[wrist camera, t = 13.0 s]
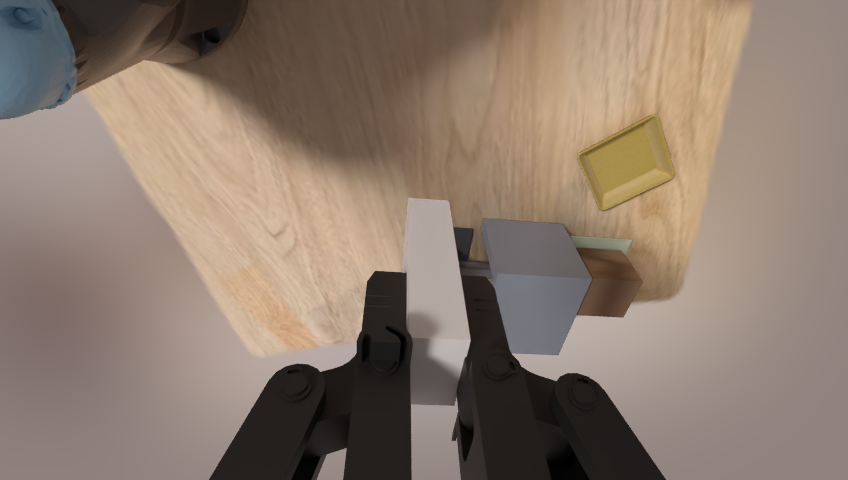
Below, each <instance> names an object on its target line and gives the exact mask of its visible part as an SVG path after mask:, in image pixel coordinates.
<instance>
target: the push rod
mask: <svg viewBox="0 0 848 480" xmlns="http://www.w3.org/2000/svg"><path fill="white" fill-rule="evenodd" d="M576 249H577V251H578V253H579V255H580V257H581V259H582V261H583V263H584V264H585V266H586V268H587V270H588V272H589V274H590V276H591V278H592V281H591V283H590V285H589V287H588V290H587V292H586V294H585V296H584V299H583V301H582V303H581V305H580V308H579V310H578V312H577V315H586V316H587V315H588V316H607V317H624V315H625V313H626V311H627V310H628V308H629V306H630V304H631V302H632V300H633V299H634V297H635V295H636V293H637V291H638V289H639V287H640V286H641V284H642V282H643V281H642V280H641V278H640V277H639V275H638V274H637V272H636V271H635V269H634V268H633V266H632V265H631V263H630V262H629V260H628V259H627V258H626V256H625V255H624V253H623V252H622V250H609V249H594V248H578V247H577V248H576ZM458 262H459V269H460V275H470V276H486V278H487V279H492V278H493V276H492V272H491V268H490V264H489V263H479V262H463V261H458Z"/></svg>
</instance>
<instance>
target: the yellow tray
mask: <svg viewBox="0 0 848 480" xmlns="http://www.w3.org/2000/svg"><path fill="white" fill-rule="evenodd" d="M577 159H578V162H579V164H580V166H581V169H582V171H583V173H584V175H585V178H586V180H587V182H588V184H589V187H590V189H591V191H592V193H593V196H594V198H595V200H596V203H597V205H598V207H599V210H601V211H604V210H607V209H609V208H611V207H613V206H615V205H617V204H620V203H622V202H624V201H626V200H628V199H630V198H632V197H635V196H636V195H638V194H641V193H643V192H645V191H647V190H649V189H651V188H653V187H656V186H658V185H660V184H662V183H664V182H666V181H669V180H671V179H672V178H673V177H674V174H675V171H674V168H673V164H672V161H671V158H670V154H669V151H668V147H667V144H666V140H665V137H664V133H663V130H662V126H661V123H660V119H659V116H658V115H657V114H653V115H650V116H648V117H645V118H644V119H642V120H640V121H638V122H636V123H634V124H632V125H630V126H629V127H627V128H625V129H623V130H621V131H619V132H617V133H615V134H613V135H611V136H610V137H608V138H606V139H604V140H602V141H600V142H598V143H596V144H594V145H592V146H591V147H589V148H587V149H585V150H583V151H581V152H580V153H579V154H578V155H577Z"/></svg>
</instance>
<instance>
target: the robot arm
mask: <svg viewBox="0 0 848 480" xmlns="http://www.w3.org/2000/svg"><path fill="white" fill-rule="evenodd" d="M247 3H248V0H0V119H10V118H16V117H20V116H23V115H26V114H29V113H31V112H34V111H37V110H39V109H40V110H43V109H52V108H55V107H57V106H58V105H62V104H64V103H65V102H66V101H68V100H69V99H70V98H71V97H72V95H74V94H76V93H78V92H80V91H82V90H84V89H86V88H88V87H90V86H92V85H94V84H96V83H98V82H100V81H102V80H104V79H106V78H108V77H110V76H112V75H114V74H116V73H119V72H121V71H123V70H125V69H127V68H129V67H131V66H133V65H135V64H137V63H139V62H141V61H143V60H148V61H154V62H161V63H184V62H190V61H194V60H198V59H201V58H203V57H205V56H207V55H209V54H211V53H212V52H214V51H216V50H217V49H219V48H221V47H222V46H223V45H225V44H226V43H227V42H228V41H229V40H230V39H231V38H232V37H233V36H234V34H235V33H236V31H237V30H238V28H239V26H240V25H241V22H242V20H243V18H244V15H245V12H246V8H247ZM456 397H457V402H458V415H457V418H456V422H455V426H454V430H453V435H452V441H456V438H457V442H458V453H459V463H460V474H461V480H666V479H665V478H664V476H663V475H662V473H661V472H660V470H659V469H658V467H657V466H656V465H655V463H654V462H653V460H652V459H651V457H650V456H649V454H648V453H647V452H646V450H645V449H644V447H643V446H642V444H641V443H640V442H639V440H638V439H637V437H636V436H635V434H634V433H633V431H632V430H631V428H630V427H629V425H628V424H627V422H626V421H625V420H624V418H623V417H622V415H621V414H620V412H619V411H618V409H617V408H616V406H615V405H614V404H613V402H612V401H611V399H610V398H609V396H608V395H607V393H606V392H605V391H604V390H603V389H602V388H601V386H600V385H599V384H598V383H597V382H595V381H594V380H592V379H590V378H589V377H587V376H584V375H581V374H578V373H567V374H565V375H563V376H560V378H559V379H558V380H557V381H554V380H551V379H548V378H544V377H541V376H538V375H536V374H533V373H531V372H529V371H527V370H526V369H524V368H522V367H521V365H520V363H519V361H518V360H517V359H516V358H515V357H514V356H513V355H512V354H511V352H510V349H509V345H508V341H507V337H506V333H505V329H504V324H503V320H502V316H501V313H500V308H499V304H498V303H497V296H496V292H495V288H494V287H493V285H492V284H491V283H490V282H489V280H488V279H487V278H486V276H470V275H460V269H459V262H458V256H457V249H456V243H455V237H454V230H453V224H452V217H451V211H450V205H449V201H447V200H433V199H419V198H408V205H407V216H406V226H405V237H404V247H403V268H402V273H401V272H384V271H375V272H374V273H373V275H372V276H371V277H370V279H369V280H368V281H367V288H366V297H365V307H364V315H363V323H362V331H361V332H360V334H359V337H358V339H357V353H356V355H355V356H354V358H352V359H351V360H350V361H349V362H348V363H346V364H344V365H343V366H340V367H337V368H334V369H330V370H326V371H323V372H320V371H319V370H318V369H317V368H314V367H312V366H310V365H308V364H294V365H290V366H286V367H284V368H283V369H281V370H279V371H277V372H276V373H275V374H274V375H273V376H272V378H271V379H270V380H269V381H268V383H267V384H266V386H265V388H264V390H263V391H262V393H261V394H260V396H259V398H258V400H257V401H256V403H255V405H254V406H253V408H252V409H251V411H250V413H249V414H248V416H247V418H246V419H245V421H244V423H243V425H242V426H241V428H240V429H239V431H238V433H237V434H236V436H235V438H234V439H233V441H232V443H231V444H230V446H229V447H228V449H227V451H226V452H225V454H224V456H223V458H222V459H221V461H220V462H219V464H218V466H217V467H216V469H215V471H214V473H213V474H212V476H211V477H210V479H209V480H316V479H317V477H318V474H319V472H320V469H321V467H322V464H323V462H324V459H325V457H326V454H329V453H332V452H335V451H338V450H341V449H344V448H347V452H346V460H345V469H344V478H343V480H411V404H420V405H422V404H423V405H455V401H456Z"/></svg>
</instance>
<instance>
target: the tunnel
mask: <svg viewBox="0 0 848 480" xmlns="http://www.w3.org/2000/svg"><path fill="white" fill-rule="evenodd" d="M481 232H482V236H483V240H484V244H485V248H486V252H487V256H488V260H489V264H490V268H491V272H492V276H493V278H492V282H491V284H492V285H493V287H494V288H495V292H496V296H497V303H498V304H499V308H500V313H501V316H502V320H503V324H504V329H505V333H506V337H507V341H508V345H509V349H510V352H511V353H520V354H545V355H559V352H560V350H561V348H562V346H563V343H564V341H565V339H566V337H567V334H568V332H569V330H570V327H571V325H572V323H573V321H574V319H575V317H576V314H577V312H578V310H579V308H580V305H581V303H582V301H583V299H584V296H585V294H586V292H587V290H588V287H589V285H590V283H591V281H592V278H591V276H590V274H589V272H588V270H587V268H586V266H585V264H584V263H583V261H582V259H581V257H580V255H579V253H578V251H577V249H576V248H575V246H574V244H573V242H572V240H571V238H570V236H569V235H568V233H567V231H566V229H565V227H564V225H563V224H555V223H541V222H527V221H512V220H498V219H484V218H483V221H482V226H481Z"/></svg>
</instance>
